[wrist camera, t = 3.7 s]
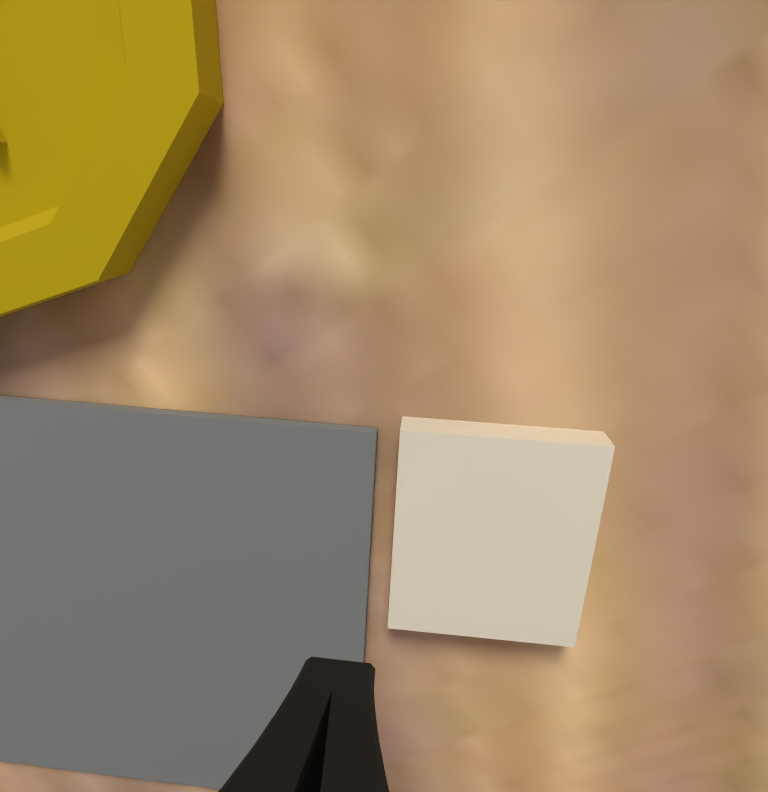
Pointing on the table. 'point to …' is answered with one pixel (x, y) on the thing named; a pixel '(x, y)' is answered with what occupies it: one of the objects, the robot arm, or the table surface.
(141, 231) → the decorative disc
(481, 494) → the tile
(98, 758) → the mat
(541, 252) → the table surface
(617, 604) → the table surface
